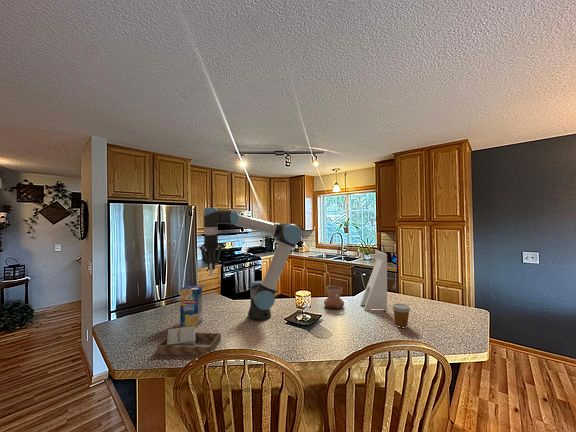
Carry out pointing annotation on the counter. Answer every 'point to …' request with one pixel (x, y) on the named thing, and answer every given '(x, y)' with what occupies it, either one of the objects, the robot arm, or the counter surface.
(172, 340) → the supplement box
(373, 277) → the grey tall wedge
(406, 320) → the disposable coffee cup
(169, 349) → the frame
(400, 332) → the counter surface
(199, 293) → the beverage box
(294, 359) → the counter surface
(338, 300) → the ceramic jug
